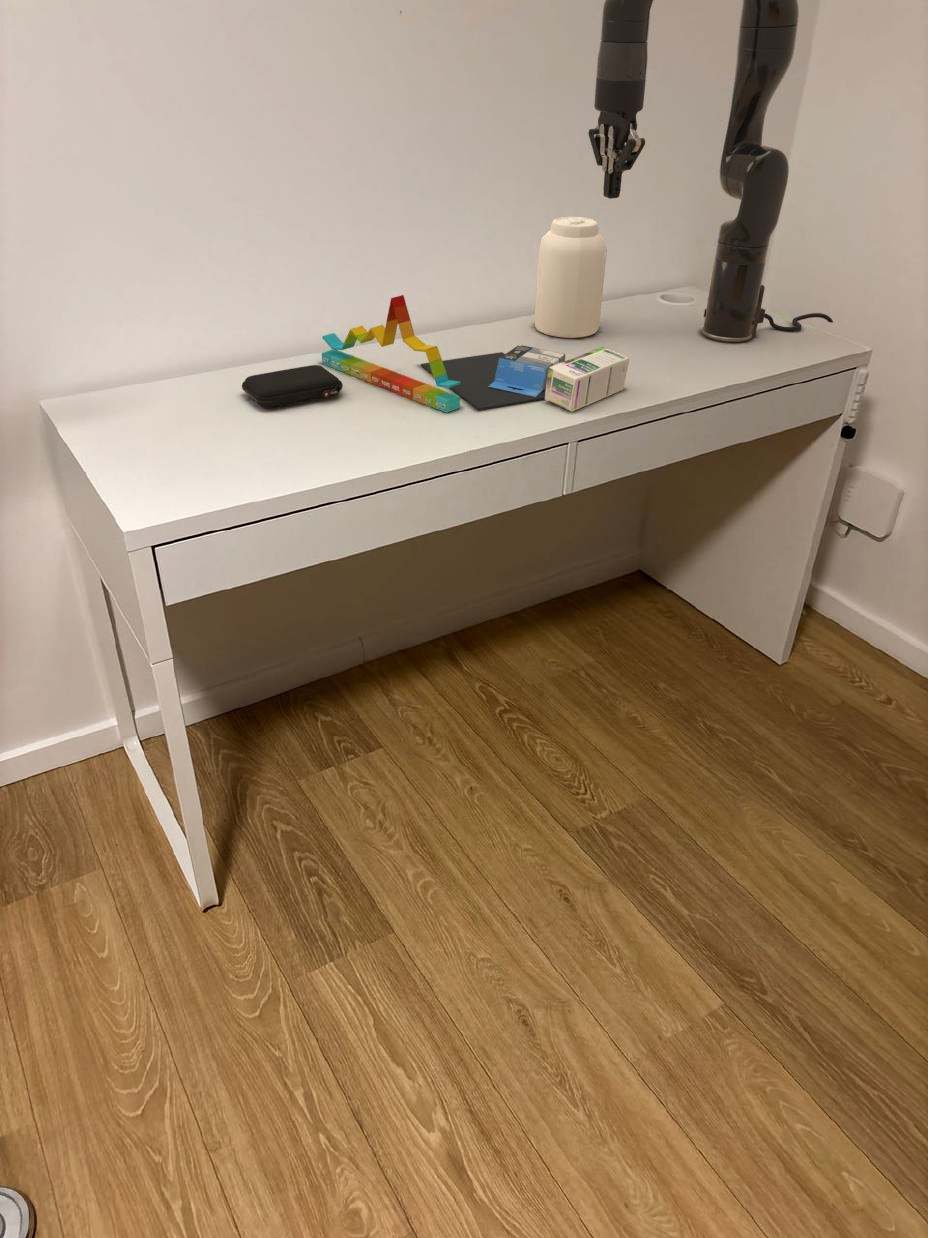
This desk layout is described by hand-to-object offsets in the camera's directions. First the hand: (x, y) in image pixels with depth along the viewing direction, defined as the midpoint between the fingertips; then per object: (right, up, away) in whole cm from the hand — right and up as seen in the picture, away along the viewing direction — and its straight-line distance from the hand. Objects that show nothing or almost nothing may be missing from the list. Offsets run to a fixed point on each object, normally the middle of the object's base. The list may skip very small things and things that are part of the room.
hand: (611, 196), depth 157 cm
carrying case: (-51, -33, -1) cm, 61 cm away
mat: (-19, -28, +6) cm, 35 cm away
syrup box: (+1, -27, +4) cm, 27 cm away
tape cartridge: (-10, -24, +9) cm, 28 cm away
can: (-4, -12, +31) cm, 33 cm away
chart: (-37, -30, +4) cm, 47 cm away
